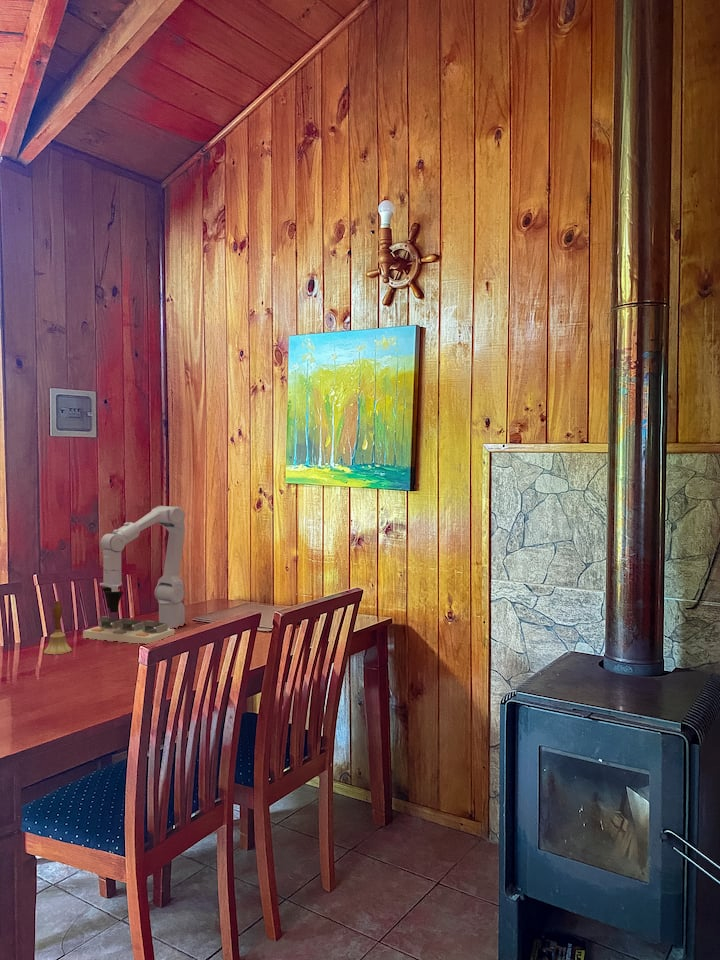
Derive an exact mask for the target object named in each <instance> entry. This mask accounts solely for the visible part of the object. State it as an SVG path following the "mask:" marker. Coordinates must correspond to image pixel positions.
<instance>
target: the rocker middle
mask: <svg viewBox="0 0 720 960" xmlns="http://www.w3.org/2000/svg"><path fill="white" fill-rule="evenodd" d="M120 619H121V623H122V624H130V625H134V624H137V623H140V622H143V621H144V620H137V619H133V618H120Z"/></svg>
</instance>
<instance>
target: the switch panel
mask: <svg viewBox="0 0 720 960" xmlns="http://www.w3.org/2000/svg"><path fill="white" fill-rule="evenodd" d="M174 633H175V634H176V629H169V628H168V624H163V625H160V626H157V627H150V626H143V622H140V623H137V624H134V625H130V624H122V623H121V620H118V621H115V622H112V623H110V622H102V621H99V620H98V626H95V627H91V628H88V629H84V630H82V638H83V639H86V638H89V639H88V640H95V639H97V640H98V641H104V640H107V641H106V642H113V641H118V642H117V643H122V642H129V643H128V644H131V643H138V644H137V645H140V644H139V643H145V644H147V643H151V642H155V641H158V640H161V639H163V638H166V637H168V636H171V635H174ZM97 640H96V641H97Z"/></svg>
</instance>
